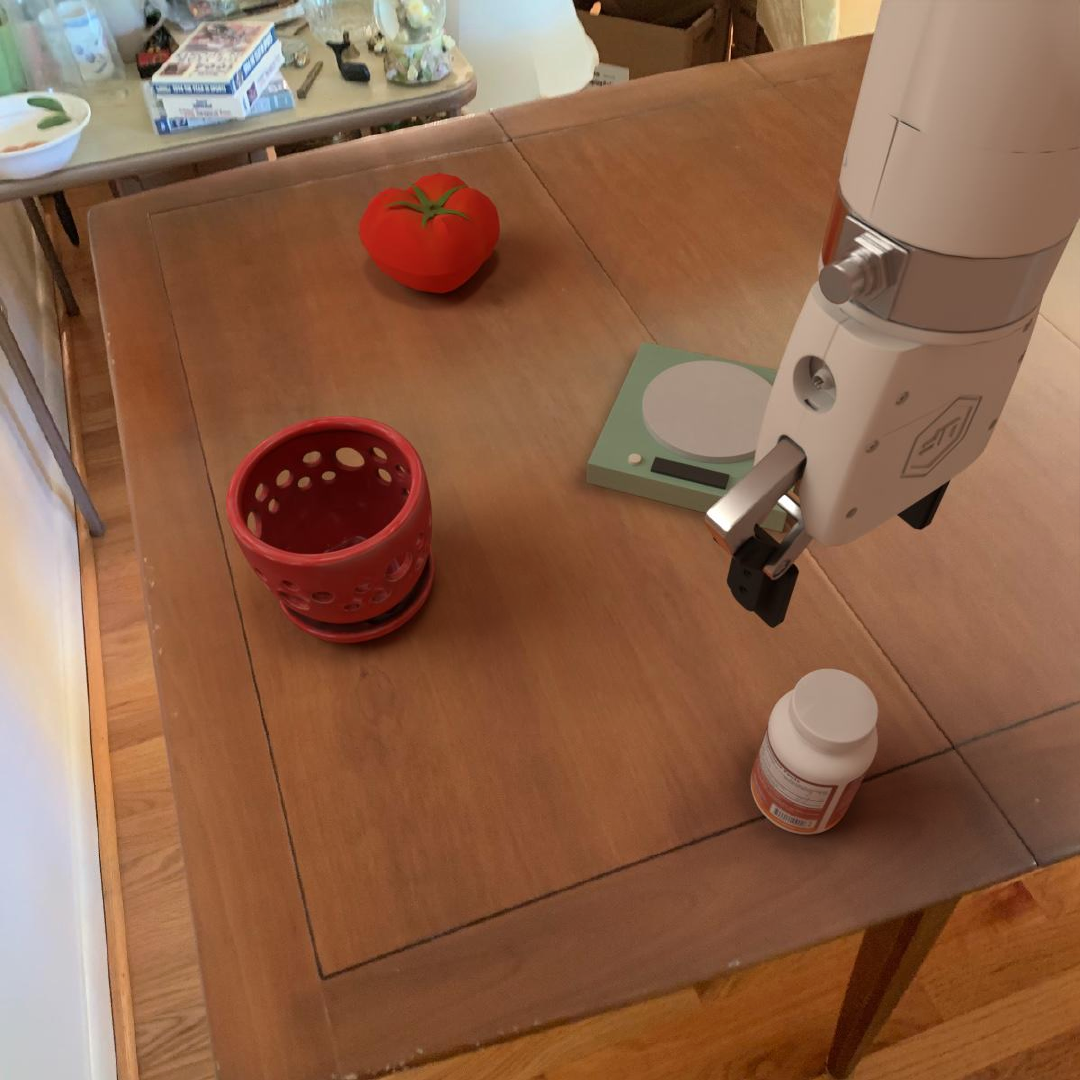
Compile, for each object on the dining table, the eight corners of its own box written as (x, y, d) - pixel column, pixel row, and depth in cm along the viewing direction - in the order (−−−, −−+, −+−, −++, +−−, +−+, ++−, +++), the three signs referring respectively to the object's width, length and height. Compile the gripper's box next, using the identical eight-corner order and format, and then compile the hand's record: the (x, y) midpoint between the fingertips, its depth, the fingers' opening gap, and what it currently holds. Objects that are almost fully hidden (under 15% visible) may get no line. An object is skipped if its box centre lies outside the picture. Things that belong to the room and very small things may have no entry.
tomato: (372, 323, 93) (358, 242, 86) (361, 248, 101) (348, 169, 94) (515, 304, 94) (512, 224, 88) (493, 232, 102) (489, 153, 95)
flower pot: (320, 505, 78) (289, 392, 69) (470, 550, 75) (458, 439, 66) (230, 631, 70) (182, 524, 61) (393, 688, 67) (367, 584, 58)
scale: (816, 400, 85) (824, 372, 83) (782, 533, 76) (789, 505, 73) (640, 361, 89) (643, 333, 86) (586, 483, 79) (587, 455, 77)
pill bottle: (821, 737, 64) (862, 645, 56) (864, 824, 61) (914, 739, 52) (733, 759, 64) (761, 669, 55) (771, 848, 60) (807, 766, 51)
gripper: (840, 406, 28) (749, 705, 41) (1187, 208, 34) (1011, 523, 47) (671, 279, 32) (637, 589, 45) (1010, 122, 38) (893, 435, 51)
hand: (829, 555), depth 46 cm, fingers open, 9 cm apart
